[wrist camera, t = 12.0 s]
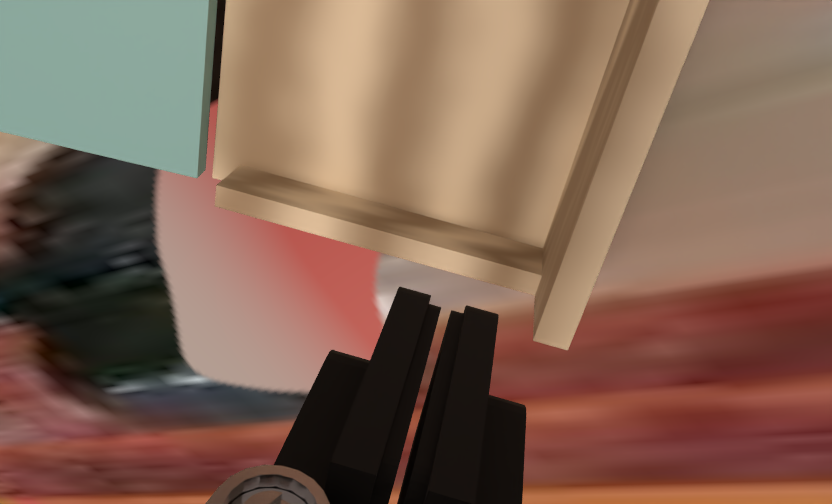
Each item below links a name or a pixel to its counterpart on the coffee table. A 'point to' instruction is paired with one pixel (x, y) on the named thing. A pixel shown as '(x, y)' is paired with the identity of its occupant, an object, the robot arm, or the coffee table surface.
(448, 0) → the trailer bed
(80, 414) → the coffee table surface
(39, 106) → the panel
